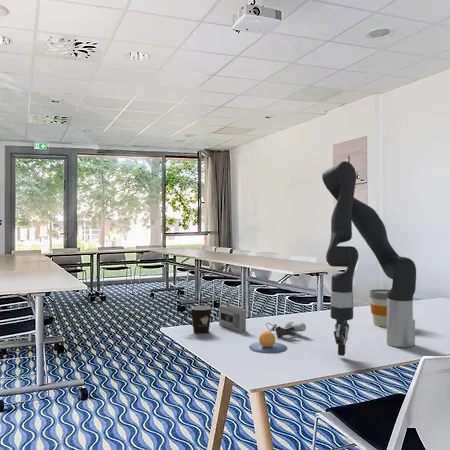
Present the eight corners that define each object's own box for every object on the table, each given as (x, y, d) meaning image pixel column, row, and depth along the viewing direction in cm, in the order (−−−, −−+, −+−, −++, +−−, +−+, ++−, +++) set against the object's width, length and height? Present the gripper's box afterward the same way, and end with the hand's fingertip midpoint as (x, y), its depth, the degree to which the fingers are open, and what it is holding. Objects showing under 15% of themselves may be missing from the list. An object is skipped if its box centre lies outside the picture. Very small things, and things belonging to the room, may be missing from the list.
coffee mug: (211, 329, 196) (211, 305, 196) (211, 334, 188) (211, 309, 188) (184, 329, 196) (184, 306, 196) (183, 334, 187) (183, 310, 187)
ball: (268, 329, 173) (273, 345, 172) (254, 333, 171) (259, 349, 170) (275, 328, 167) (279, 345, 166) (260, 333, 165) (265, 349, 164)
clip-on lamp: (261, 339, 192) (289, 339, 177) (257, 324, 192) (286, 322, 178) (281, 332, 198) (310, 331, 184) (278, 318, 199) (307, 316, 185)
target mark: (277, 341, 177) (277, 340, 177) (293, 351, 164) (293, 350, 164) (243, 344, 173) (243, 343, 173) (257, 354, 160) (257, 354, 160)
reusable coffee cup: (405, 326, 202) (405, 292, 201) (382, 329, 197) (382, 294, 197) (385, 320, 213) (385, 288, 213) (363, 322, 209) (363, 290, 208)
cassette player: (219, 325, 204) (219, 302, 204) (224, 324, 206) (224, 302, 206) (240, 332, 192) (240, 308, 191) (245, 331, 193) (245, 307, 193)
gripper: (335, 300, 163) (335, 348, 164) (326, 306, 152) (325, 358, 152) (356, 302, 160) (356, 351, 160) (348, 308, 148) (348, 362, 148)
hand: (341, 354), depth 156 cm, fingers closed
